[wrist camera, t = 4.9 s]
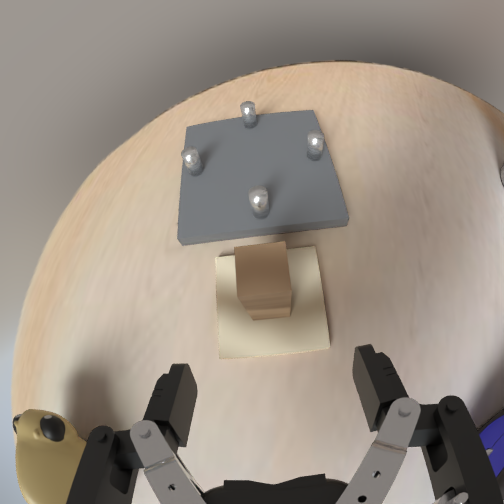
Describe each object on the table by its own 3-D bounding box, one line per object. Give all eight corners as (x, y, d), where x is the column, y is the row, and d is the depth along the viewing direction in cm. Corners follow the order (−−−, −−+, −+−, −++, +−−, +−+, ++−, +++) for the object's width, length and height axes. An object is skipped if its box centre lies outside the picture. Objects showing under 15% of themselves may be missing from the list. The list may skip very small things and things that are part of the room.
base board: (189, 135, 33) (186, 126, 32) (312, 118, 32) (313, 110, 31) (182, 245, 27) (177, 239, 26) (346, 225, 26) (349, 218, 24)
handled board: (217, 261, 26) (187, 211, 18) (314, 250, 25) (325, 194, 17) (222, 359, 22) (186, 353, 14) (328, 348, 22) (353, 337, 14)
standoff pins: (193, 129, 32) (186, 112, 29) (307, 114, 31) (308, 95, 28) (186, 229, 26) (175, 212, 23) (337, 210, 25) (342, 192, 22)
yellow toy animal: (113, 409, 21) (33, 415, 11) (143, 512, 16) (84, 553, 6) (50, 406, 21) (-22, 402, 11) (74, 497, 16) (13, 516, 7)
